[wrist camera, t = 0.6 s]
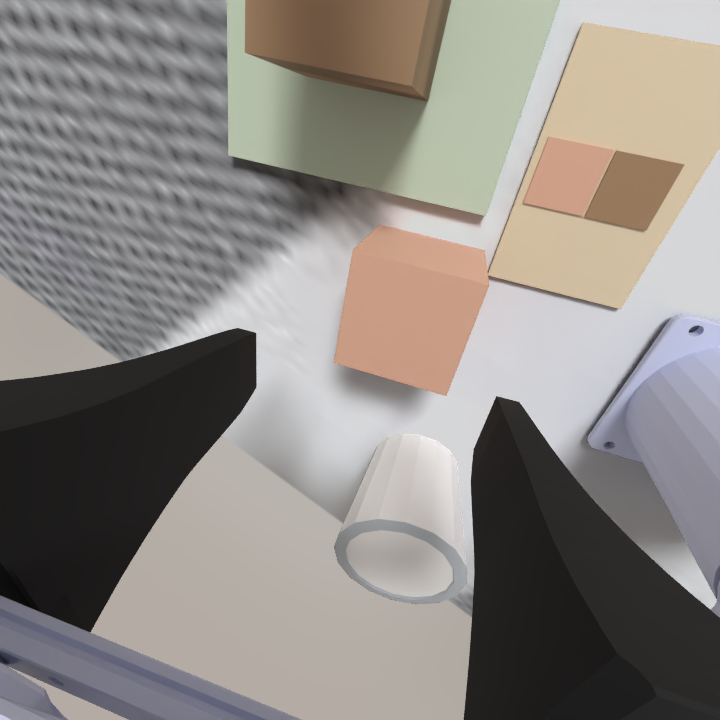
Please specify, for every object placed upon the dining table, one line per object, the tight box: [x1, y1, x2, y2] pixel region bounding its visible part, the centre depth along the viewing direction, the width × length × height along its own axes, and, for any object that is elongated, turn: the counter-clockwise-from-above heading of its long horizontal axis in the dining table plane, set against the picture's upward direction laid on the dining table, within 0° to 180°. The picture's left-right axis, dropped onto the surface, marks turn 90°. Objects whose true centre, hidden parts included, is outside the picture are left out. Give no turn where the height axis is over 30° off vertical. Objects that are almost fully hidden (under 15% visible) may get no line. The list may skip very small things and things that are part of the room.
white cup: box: [334, 434, 467, 604], centre depth 22 cm, size 7×7×7 cm
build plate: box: [227, 0, 560, 216], centre depth 14 cm, size 12×12×1 cm
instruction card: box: [488, 22, 720, 309], centre depth 15 cm, size 6×9×1 cm, turn 169°
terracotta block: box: [334, 225, 489, 396], centre depth 17 cm, size 5×5×5 cm
